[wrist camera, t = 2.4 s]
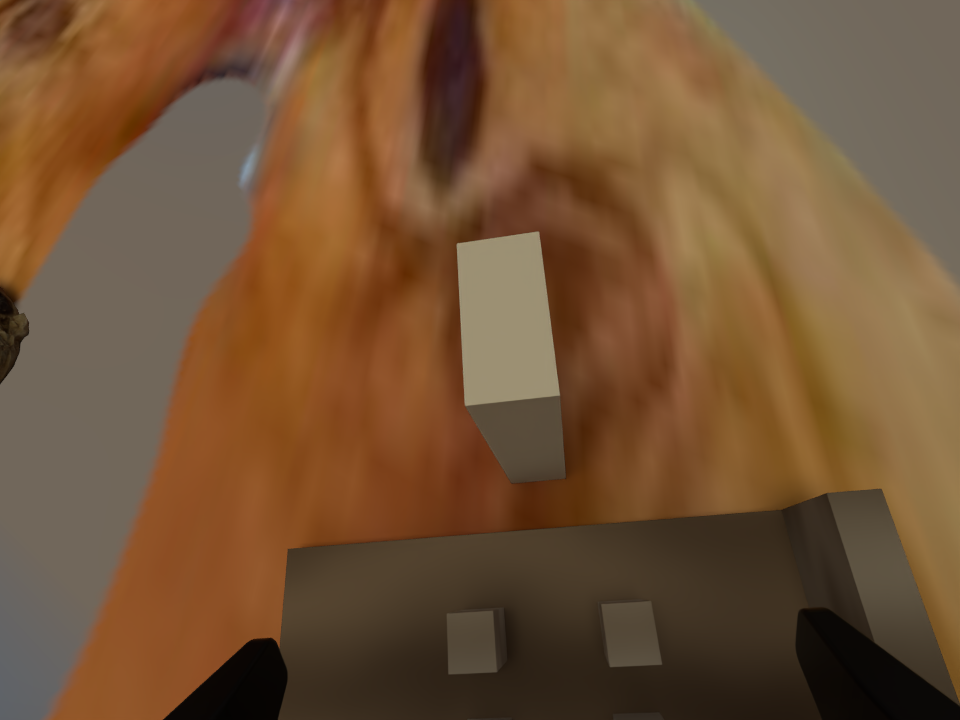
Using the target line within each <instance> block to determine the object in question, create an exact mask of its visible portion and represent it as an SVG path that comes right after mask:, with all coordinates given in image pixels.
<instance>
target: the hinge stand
mask: <svg viewBox="0 0 960 720" xmlns="http://www.w3.org/2000/svg"><path fill="white" fill-rule="evenodd" d="M814 607H825V608H828V609H830V610H832V611H833V612H835V613H836V614H837V615H839V616H840V617H841V618H843V619H844V620H845V621H847V622H848V623H849V624H851V625H852V626H853V627H855V628H856V629H858V630H859V631H860V632H862V633H863V634H864V635H866V636H867V637H868V638H870V639H871V640H872V641H874V642H875V643H876V644H878V645H879V646H880V647H882V648H883V649H884V650H886V651H887V652H888V653H890V654H891V655H892V656H894V657H895V658H896V659H898V660H899V661H901V662H902V663H903V664H905V665H906V666H907V667H909V668H910V669H911V670H913V671H914V672H915V673H917V674H918V675H919V676H921V677H922V678H923V679H925V680H926V681H927V682H929V683H930V684H931V685H933V686H934V687H935V688H937V689H938V690H939V691H941V692H942V693H944V694H945V695H946V696H948V697H949V698H950V699H952V700H953V701H954V702H956V703H957V704H958V705H960V703H959V700H958V698H957V695H956V692H955V689H954V687H953V684H952V681H951V679H950V676H949V673H948V670H947V668H946V665H945V662H944V659H943V657H942V654H941V651H940V648H939V646H938V643H937V640H936V637H935V635H934V632H933V629H932V626H931V624H930V621H929V618H928V615H927V613H926V610H925V607H924V604H923V602H922V599H921V596H920V593H919V591H918V588H917V585H916V582H915V580H914V577H913V574H912V571H911V569H910V566H909V563H908V560H907V558H906V555H905V552H904V549H903V547H902V544H901V541H900V538H899V536H898V533H897V530H896V527H895V525H894V522H893V519H892V516H891V514H890V511H889V508H888V505H887V503H886V500H885V497H884V494H883V492H882V489H872V490H860V491H848V492H835V493H826V494H823V495H821V496H818V497H815V498H812V499H810V500H807V501H804V502H802V503H799V504H796V505H794V506H791V507H788V508H786V509H783V510H776V511H763V512H750V513H738V514H725V515H712V516H700V517H687V518H674V519H662V520H649V521H636V522H624V523H611V524H598V525H586V526H573V527H560V528H548V529H535V530H522V531H510V532H497V533H484V534H472V535H459V536H446V537H434V538H421V539H408V540H396V541H383V542H371V543H358V544H345V545H333V546H320V547H307V548H295V549H288V555H287V566H286V578H285V590H284V602H283V614H282V626H281V638H280V652H281V654H282V657H283V659H284V662H285V664H286V667H287V671H288V681H287V686H286V690H285V694H284V698H283V702H282V706H281V709H280V713H279V717H278V720H822V718H821V716H820V713H819V711H818V708H817V706H816V703H815V701H814V698H813V696H812V693H811V691H810V688H809V686H808V683H807V681H806V678H805V676H804V674H803V671H802V669H801V666H800V664H799V661H798V658H797V654H796V649H795V639H796V626H797V615H798V612H799V610H800V609H802V608H814Z"/></svg>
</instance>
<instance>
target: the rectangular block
mask: <svg viewBox="0 0 960 720" xmlns="http://www.w3.org/2000/svg"><path fill="white" fill-rule="evenodd" d="M457 257H458V277H459V297H460V317H461V337H462V357H463V377H464V397H465V407H466V408H467V410H468V412H469V413H470V415H471V417H472V418H473V420H474V422H475V423H476V425H477V427H478V428H479V430H480V432H481V433H482V435H483V437H484V438H485V440H486V442H487V443H488V445H489V447H490V448H491V450H492V452H493V453H494V455H495V457H496V458H497V460H498V462H499V463H500V465H501V467H502V468H503V470H504V472H505V473H506V475H507V477H508V479H509V480H510V482H511V484H512V483H523V482H534V481H545V480H556V479H566V472H565V459H564V445H563V431H562V417H561V404H560V392H559V385H558V377H557V369H556V361H555V353H554V346H553V338H552V330H551V322H550V314H549V307H548V299H547V291H546V283H545V275H544V268H543V260H542V252H541V244H540V236H539V232H532V233H526V234H519V235H512V236H506V237H499V238H492V239H486V240H479V241H472V242H465V243H459V244H457Z"/></svg>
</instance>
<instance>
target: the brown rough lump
mask: <svg viewBox="0 0 960 720" xmlns="http://www.w3.org/2000/svg"><path fill="white" fill-rule="evenodd" d="M28 334H29V322H28V320H27V318H26V316H25V314H24V313H22V314H19V312H18V310H17V308H16V307H15V305H14V303H13V302H12V301H11V299H10V298H9V297H8V296H7V295H6V294H5V292H4V290H3V288H1V287H0V384H1V382H2V381H3V380H4V379H5V378H6V376H7V375H8V374H9V372H10V371H11V369H12V368H13V367H14V365H15V362H16V360H17V357H18V355H19V352H20V344H21V342H22V340H23V339H24V337H26V336H27V335H28Z"/></svg>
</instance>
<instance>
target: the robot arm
mask: <svg viewBox="0 0 960 720" xmlns="http://www.w3.org/2000/svg"><path fill="white" fill-rule="evenodd" d="M795 649H796V654H797V658H798V661H799V664H800V666H801V669H802V671H803V674H804V676H805V678H806V681H807V683H808V686H809V688H810V691H811V693H812V696H813V698H814V701H815V703H816V706H817V708H818V711H819V713H820V716H821V718H822V720H960V705H958V704H957V703H956V702H954V701H953V700H952V699H950V698H949V697H948V696H946V695H945V694H944V693H942V692H941V691H939V690H938V689H937V688H935V687H934V686H933V685H931V684H930V683H929V682H927V681H926V680H925V679H923V678H922V677H921V676H919V675H918V674H917V673H915V672H914V671H913V670H911V669H910V668H909V667H907V666H906V665H905V664H903V663H902V662H901V661H899V660H898V659H896V658H895V657H894V656H892V655H891V654H890V653H888V652H887V651H886V650H884V649H883V648H882V647H880V646H879V645H878V644H876V643H875V642H874V641H872V640H871V639H870V638H868V637H867V636H866V635H864V634H863V633H862V632H860V631H859V630H858V629H856V628H855V627H853V626H852V625H851V624H849V623H848V622H847V621H845V620H844V619H843V618H841V617H840V616H839V615H837V614H836V613H835V612H833V611H832V610H830V609H828V608H825V607H814V608H802V609H800V610H799V612H798V615H797V626H796V639H795ZM287 681H288V671H287V667H286V664H285V662H284V659H283V657H282V654H281V652H280V650H279V647H278V645H277V642H276V641H275V640H274V639H273V638H260V639H253V640H250V641H249V642H247V643H246V644H245V645H244V646H243V647H242V648H241V649H240V650H239V651H237V652H236V653H235V654H234V655H233V656H232V657H231V658H230V659H229V660H228V661H226V662H225V663H224V664H223V665H222V666H221V667H220V668H219V669H218V670H217V671H216V672H214V673H213V674H212V675H211V676H210V677H209V678H208V679H207V680H206V681H205V682H204V683H202V684H201V685H200V686H199V687H198V688H197V689H196V690H195V691H194V692H193V693H192V694H190V695H189V696H188V697H187V698H186V699H185V700H184V701H183V702H182V703H181V704H180V705H178V706H177V707H176V708H175V709H174V710H173V711H172V712H171V713H170V714H169V715H168V716H166V717H165V718H164V719H163V720H278V717H279V713H280V709H281V706H282V702H283V698H284V694H285V690H286V686H287Z"/></svg>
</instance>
